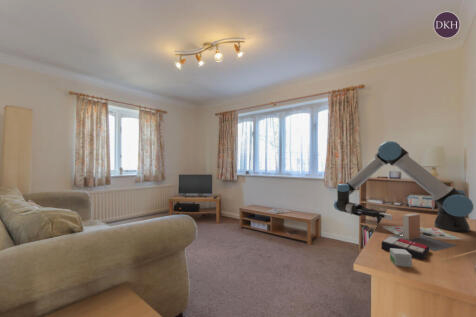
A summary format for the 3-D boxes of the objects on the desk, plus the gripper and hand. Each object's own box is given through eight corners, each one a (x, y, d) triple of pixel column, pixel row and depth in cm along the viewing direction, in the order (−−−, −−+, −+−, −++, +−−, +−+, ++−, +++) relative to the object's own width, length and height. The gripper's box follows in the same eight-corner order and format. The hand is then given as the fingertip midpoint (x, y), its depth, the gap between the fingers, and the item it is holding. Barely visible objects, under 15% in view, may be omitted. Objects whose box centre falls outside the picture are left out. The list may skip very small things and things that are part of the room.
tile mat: (410, 233, 121) (410, 232, 121) (458, 246, 102) (458, 245, 102) (388, 237, 115) (388, 236, 115) (434, 252, 96) (434, 251, 96)
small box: (389, 259, 89) (389, 247, 89) (406, 261, 87) (405, 249, 87) (394, 266, 84) (394, 253, 84) (412, 268, 82) (412, 255, 82)
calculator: (423, 252, 88) (381, 239, 100) (423, 262, 88) (381, 249, 100) (429, 245, 95) (389, 234, 107) (428, 255, 95) (388, 243, 107)
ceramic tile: (414, 236, 115) (414, 213, 115) (420, 237, 113) (420, 214, 113) (403, 238, 112) (403, 214, 112) (409, 239, 110) (408, 216, 110)
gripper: (362, 213, 146) (399, 223, 124) (347, 215, 142) (383, 225, 120) (362, 202, 147) (398, 209, 125) (347, 204, 142) (383, 211, 120)
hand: (391, 217), depth 122 cm, fingers closed
